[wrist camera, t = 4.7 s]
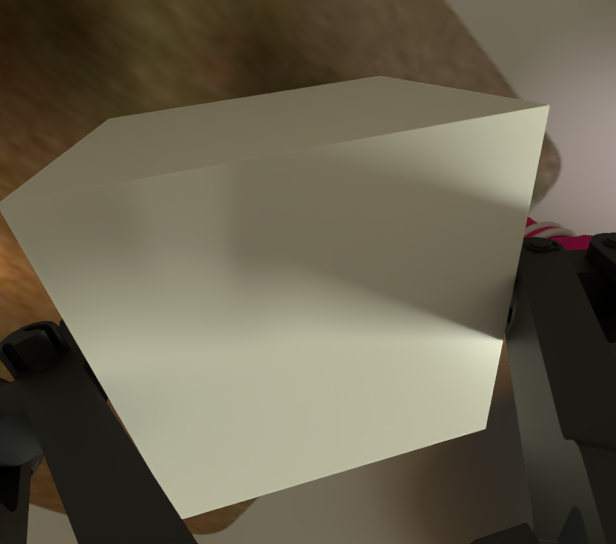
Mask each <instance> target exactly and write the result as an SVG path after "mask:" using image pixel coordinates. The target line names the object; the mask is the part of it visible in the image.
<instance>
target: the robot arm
mask: <svg viewBox="0 0 616 544" xmlns="http://www.w3.org/2000/svg"><path fill="white" fill-rule="evenodd" d="M505 337H506V343H507V350H508V357H509V363H510V369H511V375H512V383H513V389H514V396H515V402H516V409H517V416H518V422H519V429H520V435H521V442H522V448H523V454H524V461H525V468H526V475H527V481H528V488H529V494H530V500H531V508H532V515H533V531H532V530H531V528H530V527H529V525H528V524H527V523H523V524H521V525H517V526H514V527H511V528H509V529H506V530H503V531H500V532H497V533H494V534H491V535H488V536H485V537H482V538H479V539H476V540H474V541H473V542H472V543H470V544H616V233H601V234H596V235H594V236H592V237H591V240H590V243H589V246H588V249H579V250H565V248H564V247H563V246H562V244H560V243H558V242H556V241H554V240H551V239H548V238H542V237H526V238H523V243H522V248H521V253H520V258H519V263H518V268H517V273H516V278H515V283H514V288H513V293H512V298H511V303H510V308H509V313H508V318H507V323H506V328H505ZM0 360H1V361H2V362H3V364H4V365H5V366H6V368H7V369H8V371H9V372H10V373H11V375H12V376H13V377H14V379H15V380H14V381H12V382H10V383H7V382H5V381H2V380H0V544H26V543H27V527H28V526H27V525H28V511H29V495H30V479H31V476H32V475H33V474H34V473H35V472H36V470H37V469H38V467H39V465H40V464H41V462H42V459H43V457H44V456H45V459H46V461H47V464H48V467H49V469H50V472H51V474H52V477H53V480H54V482H55V485H56V487H57V490H58V493H59V495H60V498H61V500H62V503H63V505H64V508H65V511H66V513H67V516H68V518H69V521H70V524H71V526H72V528H73V531H74V534H75V536H76V539H77V542H78V544H198V543H197V542H196V540H195V539H194V537H193V535H192V534H191V532H190V531H189V529H188V528H187V526H186V525H185V523H184V522H183V520H182V518H181V517H180V515H179V514H178V512H177V511H176V509H175V508H174V506H173V505H172V503H171V502H170V500H169V498H168V497H167V495H166V494H165V492H164V491H163V489H162V488H161V486H160V485H159V483H158V481H157V480H156V478H155V477H154V475H153V474H152V472H151V471H150V469H149V468H148V466H147V465H146V463H145V461H144V460H143V458H142V457H141V455H140V454H139V452H138V451H137V449H136V448H135V446H134V444H133V443H132V441H131V440H130V438H129V437H128V435H127V434H126V432H125V431H124V429H123V428H122V426H121V424H120V423H119V421H118V420H117V418H116V417H115V415H114V414H113V412H112V411H111V409H110V407H109V406H108V404H107V403H106V402H107V398H108V396H107V394H106V393H105V391H104V389H103V387H102V386H101V384H100V382H99V381H98V379H97V377H96V375H95V374H94V372H93V370H92V368H91V367H90V365H89V363H88V362H87V360H86V358H85V356H84V355H83V353H82V351H81V349H80V348H79V346H78V344H77V343H76V341H75V339H74V337H73V336H72V334H71V332H70V330H69V329H68V327H67V325H66V324H65V322H64V320H63V318H62V320H61V322H60V326H58V325H57V324H55V323H54V322H52V321H42V322H36V323H32V324H30V325H27V326H24V327H22V328H20V329H18V330H16V331H15V332H13V333H11V334H10V335H9V336H7V337H6V338H5V339H3V340H2V341H1V343H0Z"/></svg>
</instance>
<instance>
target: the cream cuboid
mask: <svg viewBox="0 0 616 544" xmlns="http://www.w3.org/2000/svg"><path fill="white" fill-rule="evenodd" d="M549 107H550V105H547V104H541V103H535V102H529V101H524V100H518V99H512V98H506V97H500V96H495V95H489V94H483V93H477V92H471V91H466V90H460V89H454V88H448V87H442V86H436V85H431V84H425V83H419V82H413V81H407V80H401V79H396V78H390V77H384V76H376V77H369V78H363V79H357V80H350V81H344V82H338V83H331V84H325V85H319V86H313V87H306V88H300V89H294V90H287V91H281V92H275V93H268V94H262V95H256V96H249V97H243V98H237V99H230V100H224V101H218V102H211V103H205V104H199V105H192V106H186V107H180V108H173V109H167V110H161V111H155V112H148V113H142V114H136V115H129V116H123V117H117V118H110V119H108V120H107V121H105V122H104V123H103V124H101V125H100V126H99V127H98V128H96V129H95V130H94V131H92V132H91V133H90V134H88V135H87V136H86V137H84V138H83V139H82V140H80V141H79V142H78V143H77V144H75V145H74V146H73V147H71V148H70V149H69V150H67V151H66V152H65V153H63V154H62V155H61V156H60V157H58V158H57V159H56V160H54V161H53V162H52V163H50V164H49V165H48V166H46V167H45V168H44V169H43V170H41V171H40V172H39V173H37V174H36V175H35V176H33V177H32V178H31V179H29V180H28V181H27V182H25V183H24V184H23V185H22V186H20V187H19V188H18V189H16V190H15V191H14V192H12V193H11V194H10V195H8V196H7V197H6V198H5V199H3V200H2V201H1V202H0V211H1V213H2V215H3V217H4V218H5V220H6V222H7V224H8V225H9V227H10V229H11V230H12V232H13V234H14V236H15V237H16V239H17V241H18V242H19V244H20V246H21V248H22V249H23V251H24V253H25V255H26V256H27V258H28V260H29V261H30V263H31V265H32V267H33V268H34V270H35V272H36V274H37V275H38V277H39V279H40V280H41V282H42V284H43V286H44V287H45V289H46V291H47V293H48V294H49V296H50V298H51V299H52V301H53V303H54V305H55V306H56V308H57V310H58V311H59V313H60V315H61V317H62V318H63V320H64V322H65V324H66V325H67V327H68V329H69V330H70V332H71V334H72V336H73V337H74V339H75V341H76V343H77V344H78V346H79V348H80V349H81V351H82V353H83V355H84V356H85V358H86V360H87V362H88V363H89V365H90V367H91V368H92V370H93V372H94V374H95V375H96V377H97V379H98V381H99V382H100V384H101V386H102V387H103V389H104V391H105V393H106V394H107V396H108V398H109V399H110V401H111V403H112V405H113V406H114V408H115V410H116V412H117V413H118V415H119V417H120V418H121V420H122V422H123V424H124V425H125V427H126V429H127V431H128V432H129V434H130V436H131V437H132V439H133V441H134V443H135V444H136V446H137V448H138V450H139V451H140V453H141V455H142V456H143V458H144V460H145V462H146V463H147V465H148V467H149V468H150V470H151V472H152V474H153V475H154V477H155V478H156V480H157V481H158V483H159V485H160V486H161V488H162V489H163V491H164V492H165V494H166V495H167V497H168V498H169V500H170V502H171V503H172V505H173V506H174V508H175V509H176V511H177V512H178V514H179V515H180V517H181V518H182V519H185V518H188V517H191V516H195V515H198V514H201V513H205V512H208V511H211V510H215V509H218V508H221V507H225V506H228V505H232V504H235V503H238V502H242V501H245V500H248V499H252V498H255V497H258V496H262V495H265V494H268V493H272V492H275V491H278V490H282V489H285V488H289V487H292V486H295V485H298V484H302V483H305V482H308V481H312V480H315V479H319V478H322V477H325V476H329V475H332V474H335V473H339V472H342V471H345V470H349V469H352V468H355V467H359V466H362V465H365V464H369V463H372V462H376V461H379V460H382V459H386V458H389V457H392V456H396V455H399V454H402V453H406V452H409V451H412V450H416V449H419V448H422V447H426V446H429V445H433V444H436V443H439V442H443V441H446V440H449V439H453V438H456V437H459V436H463V435H466V434H470V433H473V432H476V431H479V430H483V429H485V428H486V423H487V418H488V412H489V407H490V402H491V397H492V393H493V388H494V383H495V378H496V373H497V368H498V363H499V357H500V352H501V347H502V343H503V338H504V333H505V328H506V323H507V318H508V313H509V308H510V303H511V298H512V293H513V288H514V283H515V278H516V273H517V268H518V263H519V258H520V253H521V248H522V243H523V238H524V232H525V227H526V222H527V217H528V212H529V207H530V202H531V197H532V192H533V187H534V182H535V177H536V172H537V167H538V162H539V157H540V152H541V147H542V142H543V137H544V132H545V127H546V122H547V116H548V111H549Z"/></svg>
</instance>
